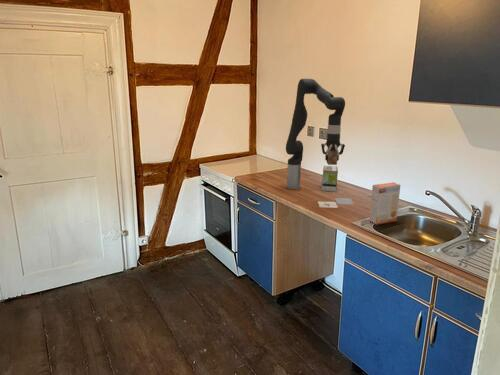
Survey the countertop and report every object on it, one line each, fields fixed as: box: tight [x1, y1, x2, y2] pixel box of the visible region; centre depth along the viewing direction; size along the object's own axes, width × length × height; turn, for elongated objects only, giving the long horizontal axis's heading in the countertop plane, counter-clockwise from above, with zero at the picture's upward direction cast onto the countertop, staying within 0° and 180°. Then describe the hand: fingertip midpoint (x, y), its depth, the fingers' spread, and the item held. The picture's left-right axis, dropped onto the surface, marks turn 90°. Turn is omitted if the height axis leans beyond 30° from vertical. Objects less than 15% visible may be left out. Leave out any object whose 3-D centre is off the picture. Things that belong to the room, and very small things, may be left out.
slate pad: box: [334, 197, 355, 206], centre depth 236 cm, size 10×12×1 cm
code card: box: [317, 201, 339, 209], centre depth 231 cm, size 11×11×1 cm
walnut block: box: [326, 150, 339, 166], centre depth 223 cm, size 5×7×8 cm
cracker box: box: [369, 181, 401, 225], centre depth 201 cm, size 14×6×21 cm, turn 111°
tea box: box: [321, 165, 339, 192], centre depth 263 cm, size 15×10×15 cm
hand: (331, 161), depth 223 cm, fingers closed on walnut block, 5 cm apart
